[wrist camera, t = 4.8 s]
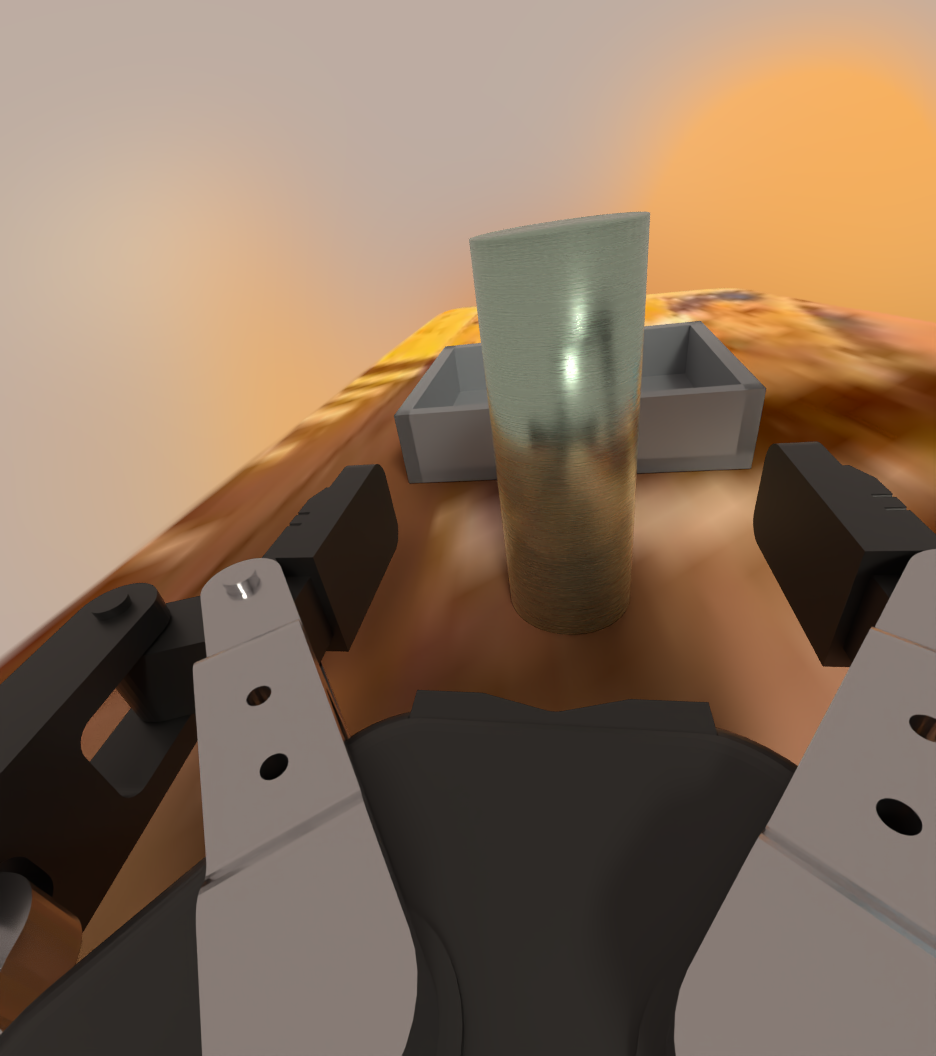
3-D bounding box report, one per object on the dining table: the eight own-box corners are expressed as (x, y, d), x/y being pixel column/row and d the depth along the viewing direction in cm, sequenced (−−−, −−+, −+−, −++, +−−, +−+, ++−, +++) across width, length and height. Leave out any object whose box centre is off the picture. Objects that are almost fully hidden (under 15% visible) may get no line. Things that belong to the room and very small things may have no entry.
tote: (693, 380, 36) (700, 320, 34) (751, 468, 25) (766, 388, 23) (453, 399, 39) (445, 346, 37) (409, 483, 28) (394, 415, 26)
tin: (624, 556, 20) (638, 208, 14) (636, 635, 17) (663, 217, 10) (515, 557, 21) (481, 231, 15) (505, 633, 18) (454, 247, 11)
